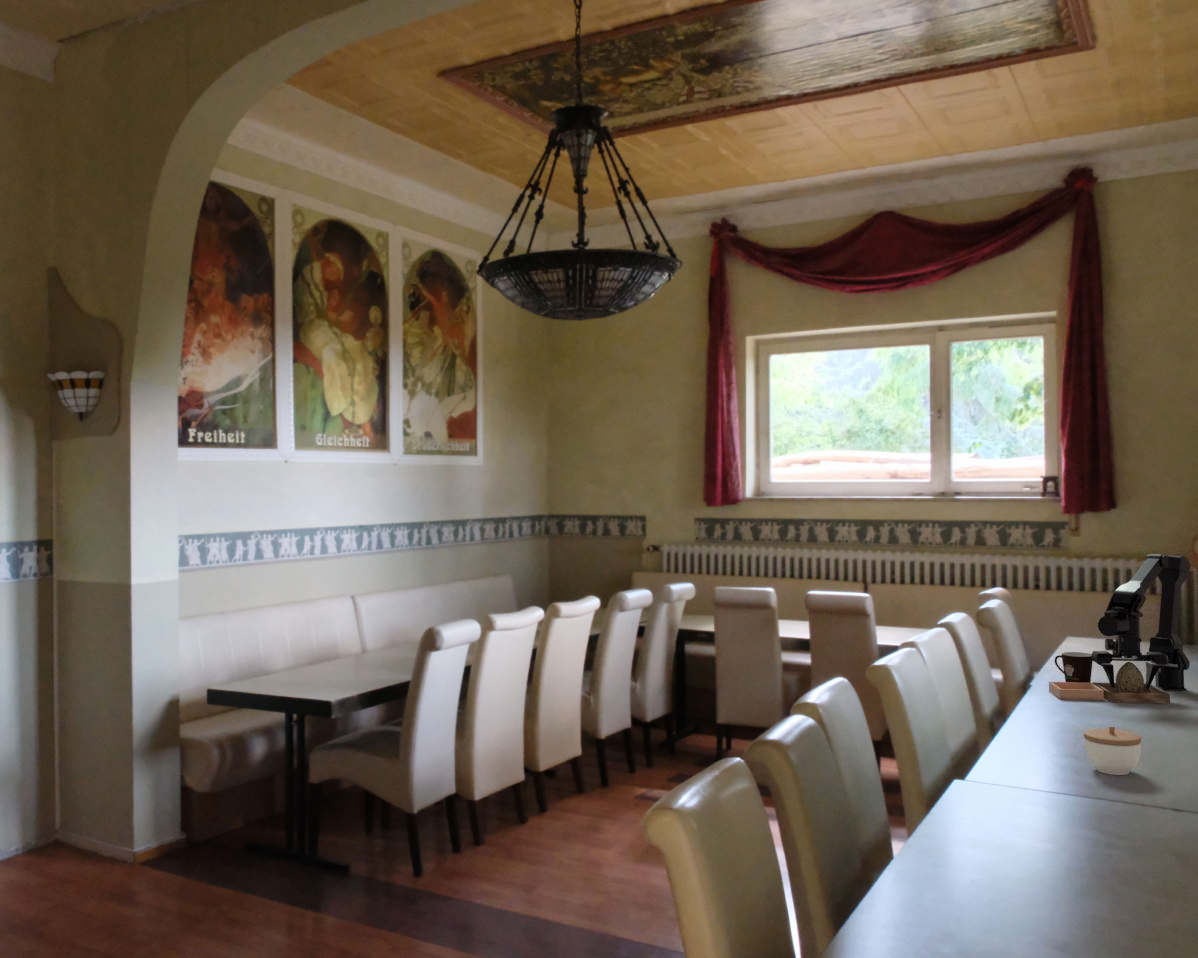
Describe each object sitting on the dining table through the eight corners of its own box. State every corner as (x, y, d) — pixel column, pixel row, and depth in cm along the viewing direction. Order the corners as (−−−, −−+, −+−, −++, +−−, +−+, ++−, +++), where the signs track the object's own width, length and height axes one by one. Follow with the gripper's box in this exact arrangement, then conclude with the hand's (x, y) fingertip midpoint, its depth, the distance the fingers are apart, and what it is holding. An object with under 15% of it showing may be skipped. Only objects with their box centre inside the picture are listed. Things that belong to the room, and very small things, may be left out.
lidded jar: (1140, 781, 198) (1139, 734, 198) (1082, 773, 203) (1080, 728, 204) (1143, 768, 207) (1142, 724, 207) (1087, 761, 213) (1086, 718, 213)
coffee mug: (1099, 690, 288) (1098, 656, 288) (1070, 690, 288) (1069, 656, 288) (1080, 682, 300) (1080, 650, 300) (1052, 682, 300) (1051, 650, 300)
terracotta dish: (1091, 691, 285) (1091, 682, 285) (1103, 700, 274) (1103, 690, 274) (1049, 691, 288) (1048, 681, 288) (1059, 699, 276) (1059, 689, 276)
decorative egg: (1148, 699, 274) (1147, 664, 274) (1120, 699, 275) (1119, 663, 275) (1139, 694, 281) (1138, 660, 281) (1112, 694, 282) (1111, 659, 282)
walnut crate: (1150, 691, 284) (1149, 683, 284) (1170, 703, 269) (1170, 694, 269) (1092, 690, 287) (1092, 682, 287) (1109, 701, 272) (1109, 692, 272)
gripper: (1153, 629, 285) (1155, 683, 284) (1085, 629, 288) (1086, 681, 288) (1168, 635, 274) (1169, 690, 273) (1096, 634, 277) (1098, 689, 277)
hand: (1130, 687), depth 278 cm, fingers open, 9 cm apart
